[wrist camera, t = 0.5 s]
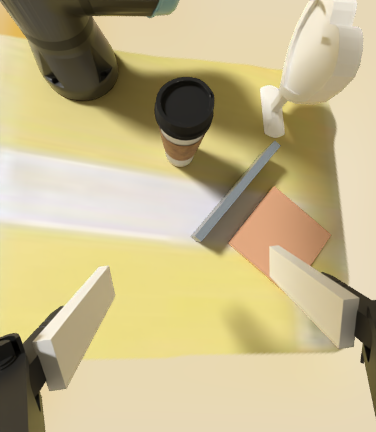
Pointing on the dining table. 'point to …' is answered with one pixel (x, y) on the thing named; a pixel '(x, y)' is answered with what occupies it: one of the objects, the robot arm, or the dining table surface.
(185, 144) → the coffee cup
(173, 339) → the dining table surface
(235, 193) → the gray rectangular board
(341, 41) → the heart sculpture
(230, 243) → the terracotta tile
